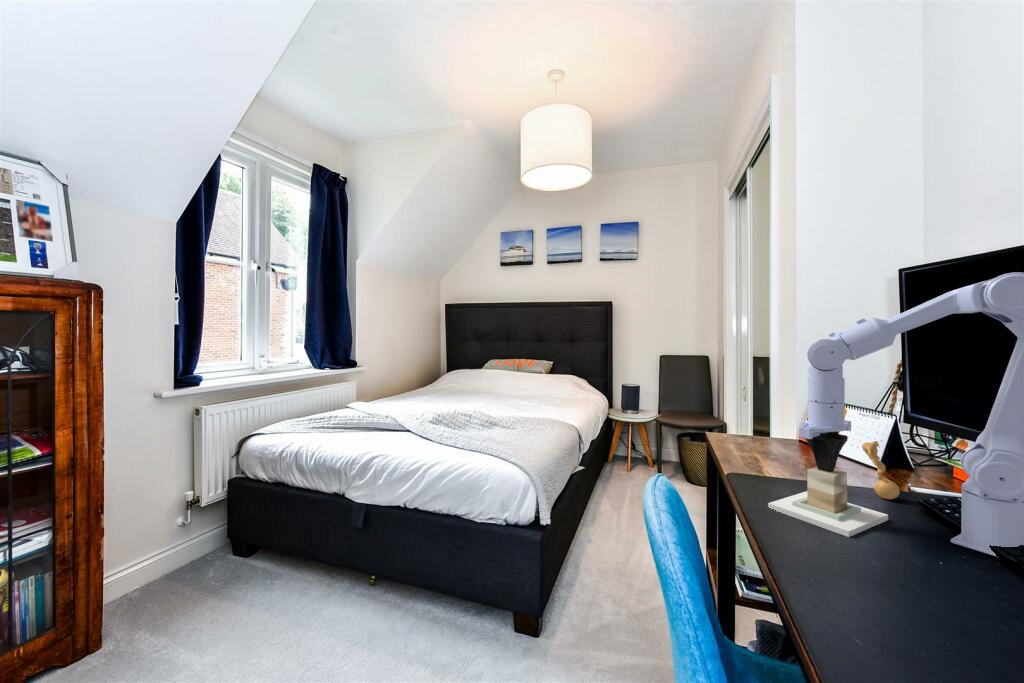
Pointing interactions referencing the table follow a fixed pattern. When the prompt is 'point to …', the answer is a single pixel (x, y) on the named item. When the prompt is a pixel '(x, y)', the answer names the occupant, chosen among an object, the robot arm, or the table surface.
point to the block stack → (827, 490)
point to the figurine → (884, 485)
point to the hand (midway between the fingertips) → (825, 471)
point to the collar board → (829, 515)
